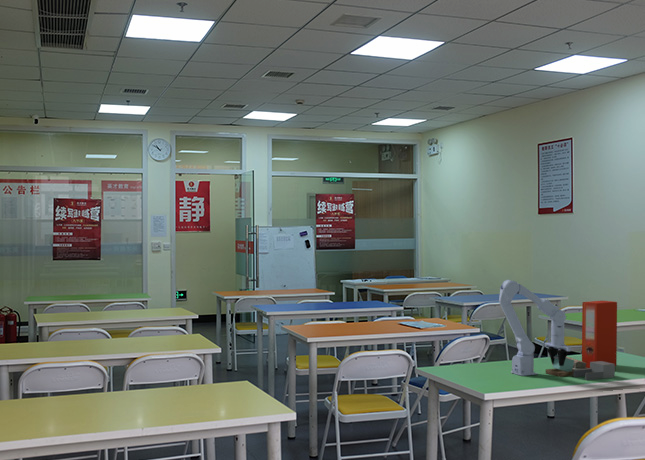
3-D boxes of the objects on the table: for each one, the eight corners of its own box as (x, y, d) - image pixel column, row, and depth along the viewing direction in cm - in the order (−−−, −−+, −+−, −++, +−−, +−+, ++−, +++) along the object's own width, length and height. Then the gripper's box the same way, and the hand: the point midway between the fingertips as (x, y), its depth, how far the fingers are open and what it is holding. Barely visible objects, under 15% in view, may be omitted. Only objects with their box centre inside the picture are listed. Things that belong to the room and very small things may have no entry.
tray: (559, 376, 292) (559, 372, 292) (545, 373, 299) (545, 369, 299) (580, 374, 297) (580, 370, 297) (566, 371, 305) (566, 367, 305)
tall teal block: (556, 368, 294) (559, 355, 295) (550, 367, 298) (553, 354, 298) (571, 372, 298) (574, 360, 298) (565, 371, 301) (567, 358, 302)
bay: (586, 380, 285) (586, 366, 285) (573, 376, 292) (573, 363, 292) (614, 377, 292) (614, 363, 292) (601, 374, 299) (601, 361, 299)
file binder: (617, 366, 319) (617, 301, 319) (596, 369, 309) (596, 303, 310) (602, 363, 325) (602, 300, 326) (581, 367, 316) (581, 301, 316)
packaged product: (550, 355, 322) (568, 355, 324) (550, 365, 322) (568, 364, 324) (573, 362, 304) (591, 361, 307) (573, 372, 304) (591, 371, 307)
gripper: (576, 336, 292) (576, 366, 292) (552, 332, 305) (552, 361, 305) (564, 337, 289) (564, 367, 289) (541, 333, 302) (541, 362, 302)
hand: (557, 364), depth 297 cm, fingers closed on tall teal block, 4 cm apart
